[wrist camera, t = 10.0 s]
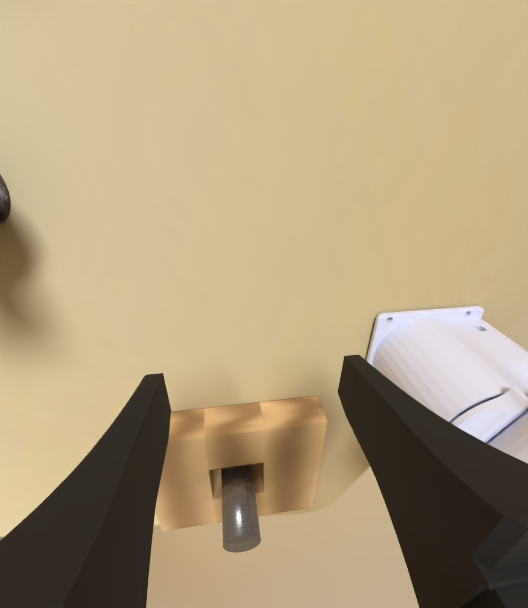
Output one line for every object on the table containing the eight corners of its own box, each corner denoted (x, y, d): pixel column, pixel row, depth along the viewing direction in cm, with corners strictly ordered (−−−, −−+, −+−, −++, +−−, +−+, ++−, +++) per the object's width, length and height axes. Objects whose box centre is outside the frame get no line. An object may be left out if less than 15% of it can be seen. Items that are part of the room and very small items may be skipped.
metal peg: (247, 439, 30) (257, 530, 23) (252, 456, 32) (263, 546, 25) (217, 445, 30) (219, 539, 23) (224, 462, 32) (227, 555, 25)
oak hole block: (317, 395, 28) (327, 422, 26) (305, 479, 35) (313, 507, 33) (140, 415, 26) (133, 446, 24) (166, 500, 33) (162, 531, 31)
